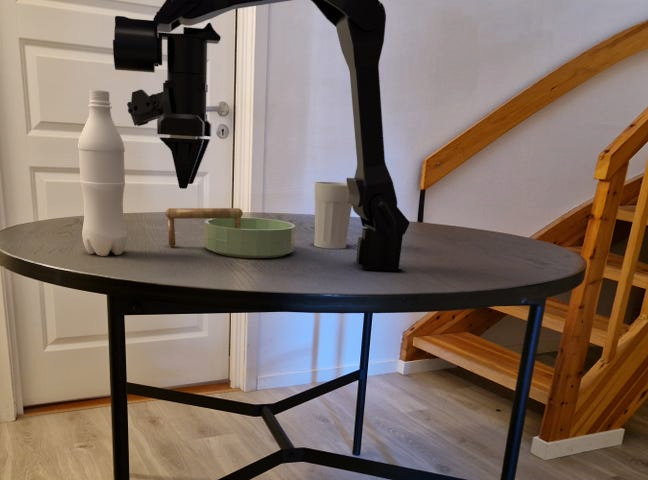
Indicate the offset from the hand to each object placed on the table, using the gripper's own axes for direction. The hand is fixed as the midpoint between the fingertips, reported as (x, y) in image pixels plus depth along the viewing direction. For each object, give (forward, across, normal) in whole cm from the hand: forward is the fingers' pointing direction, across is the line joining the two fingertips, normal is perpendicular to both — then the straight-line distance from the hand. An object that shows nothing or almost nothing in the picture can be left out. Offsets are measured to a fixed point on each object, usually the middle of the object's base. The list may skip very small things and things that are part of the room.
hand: (186, 186), depth 95 cm
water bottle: (+12, -5, -14) cm, 19 cm away
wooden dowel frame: (+12, -14, +4) cm, 19 cm away
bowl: (+12, -14, +10) cm, 21 cm away
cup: (+12, -24, +26) cm, 37 cm away
